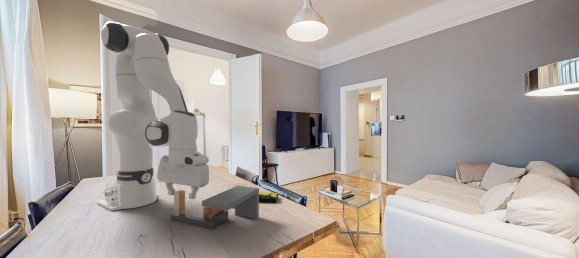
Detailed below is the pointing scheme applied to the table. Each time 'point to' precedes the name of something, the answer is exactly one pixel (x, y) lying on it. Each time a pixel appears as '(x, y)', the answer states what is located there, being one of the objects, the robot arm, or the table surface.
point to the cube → (210, 212)
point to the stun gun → (267, 197)
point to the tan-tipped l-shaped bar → (193, 220)
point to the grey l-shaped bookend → (237, 201)
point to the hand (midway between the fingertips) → (181, 196)
